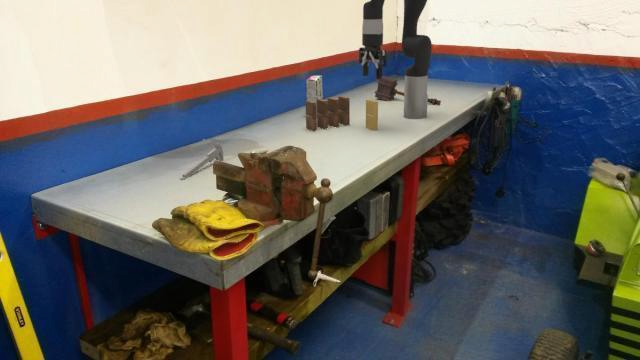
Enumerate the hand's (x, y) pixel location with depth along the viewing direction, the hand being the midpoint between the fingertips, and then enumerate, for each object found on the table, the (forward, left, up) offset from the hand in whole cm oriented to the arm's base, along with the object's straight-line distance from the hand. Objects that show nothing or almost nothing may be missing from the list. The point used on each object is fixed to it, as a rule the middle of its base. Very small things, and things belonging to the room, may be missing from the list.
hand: (372, 77), depth 190 cm
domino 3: (+15, -6, -20) cm, 25 cm away
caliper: (+56, +44, -20) cm, 74 cm away
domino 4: (+10, -8, -20) cm, 24 cm away
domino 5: (0, 0, -20) cm, 20 cm away
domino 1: (+23, -1, -20) cm, 31 cm away
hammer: (-22, -50, -20) cm, 58 cm away
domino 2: (+19, -3, -20) cm, 28 cm away
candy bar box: (+22, -25, -20) cm, 39 cm away
